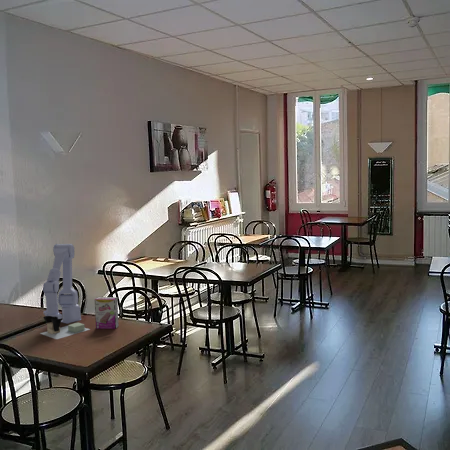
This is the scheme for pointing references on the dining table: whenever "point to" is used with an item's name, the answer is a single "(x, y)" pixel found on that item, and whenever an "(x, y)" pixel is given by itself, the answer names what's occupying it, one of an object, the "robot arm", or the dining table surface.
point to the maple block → (51, 328)
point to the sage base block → (76, 327)
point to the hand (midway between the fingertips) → (53, 330)
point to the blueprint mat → (61, 333)
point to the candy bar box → (106, 312)
